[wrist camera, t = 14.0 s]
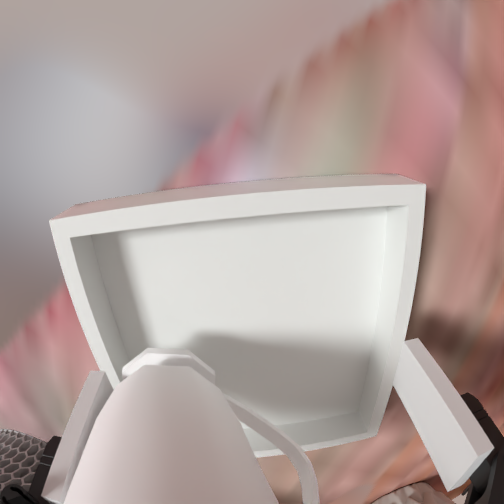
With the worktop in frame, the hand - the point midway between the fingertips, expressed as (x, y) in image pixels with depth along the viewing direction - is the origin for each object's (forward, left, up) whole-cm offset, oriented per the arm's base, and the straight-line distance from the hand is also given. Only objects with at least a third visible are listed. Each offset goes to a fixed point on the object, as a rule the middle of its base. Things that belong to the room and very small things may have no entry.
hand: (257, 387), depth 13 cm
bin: (0, 0, -4) cm, 4 cm away
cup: (+1, -3, -1) cm, 3 cm away
